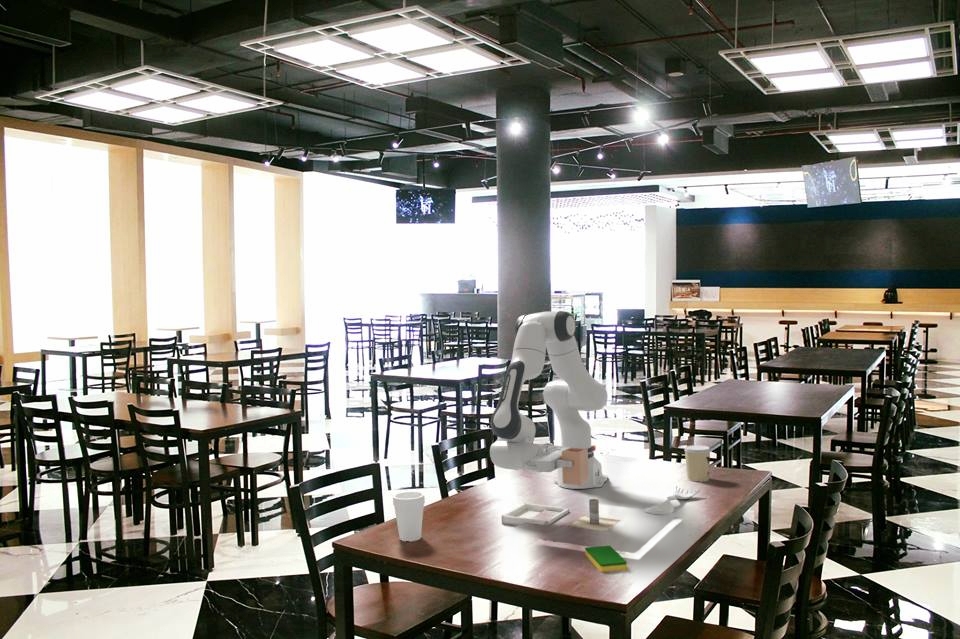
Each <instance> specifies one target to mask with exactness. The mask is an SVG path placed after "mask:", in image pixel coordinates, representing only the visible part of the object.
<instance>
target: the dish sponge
mask: <svg viewBox="0 0 960 639" xmlns="http://www.w3.org/2000/svg"><path fill="white" fill-rule="evenodd" d="M584 553H585V556H586V557H587V558H588V560H589V561H590V562H591V563H592V564H593V565H594V567H596V568H597V569H598V571H599V572H601V573H605V572H615V571H616V572H617V571H626V570H627V569H628V562H627V560H626V559H624V558H623V557H622V556H621V555H620V554H619V552H617V551H616V550H615V549H614V548H613V547H612V546H611V545H601V546H600V545H599V546H591V547H590V546H588V547H585V551H584Z"/></svg>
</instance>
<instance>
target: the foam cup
mask: <svg viewBox="0 0 960 639" xmlns="http://www.w3.org/2000/svg"><path fill="white" fill-rule="evenodd" d="M425 498H426V497H425V493H424V492H421V491H416V490H413V491H411V490H408V491H401V492H397V493H394V494H393V495H392V504H393V506H394V514H395V518H396V524H397V530H398V536H399V541H401V540H402V542H406V541H409V542H416V541H419V540H421V537H422V529H423V519H424V517H423V516H424V506H425V503H426V502H425Z"/></svg>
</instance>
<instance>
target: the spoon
mask: <svg viewBox="0 0 960 639" xmlns="http://www.w3.org/2000/svg"><path fill="white" fill-rule="evenodd" d="M700 491H701V488H698V489H694V490H693V489H691V490H690V491H689V490H688V489H686V490H684V488H681V487H679V488H678V486H677V485H676V486H675V487H674V489H673V494H672V495H670V496H667V497H666V500H665V501H663V502H661V503H658V504H655V505H652V506H650V507H646V508H645V509H643V512H644V513H646V514H648V515H649V514H650V515H655V516H657V515H658V516H659V515H661V516H662V515H669V514H673V513H674V512H675V507H674V506H673V504H672V503H671V501H675V500H677V499H678V500H687V499H691V498H692V497H694V496H696V495H697V494H699V493H700Z"/></svg>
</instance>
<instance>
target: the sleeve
mask: <svg viewBox="0 0 960 639" xmlns="http://www.w3.org/2000/svg"><path fill="white" fill-rule="evenodd" d="M562 460H564V461H568V460H572V461H573V462H574V466H572V467H562V473H563V484H572V485H583V484H584V483H586V482H588V481H589V477H588V449H583V448H568V449H565V450H563V451H562Z"/></svg>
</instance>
